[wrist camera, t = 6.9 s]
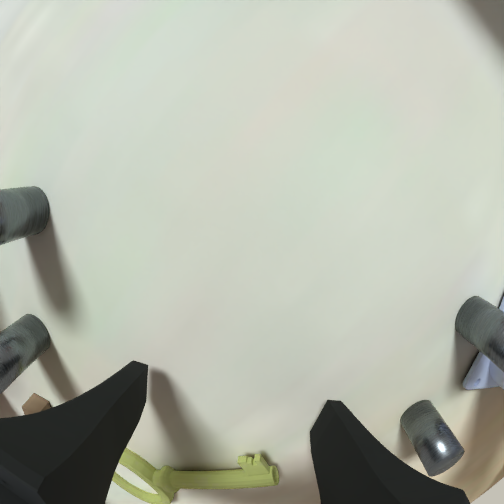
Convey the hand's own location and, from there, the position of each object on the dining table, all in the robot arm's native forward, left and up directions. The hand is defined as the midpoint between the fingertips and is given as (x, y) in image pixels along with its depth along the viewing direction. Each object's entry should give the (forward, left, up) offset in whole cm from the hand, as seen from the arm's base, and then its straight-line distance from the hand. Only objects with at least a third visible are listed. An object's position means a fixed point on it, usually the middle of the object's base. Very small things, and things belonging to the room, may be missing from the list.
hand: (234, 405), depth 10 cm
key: (+2, +8, -2) cm, 9 cm away
